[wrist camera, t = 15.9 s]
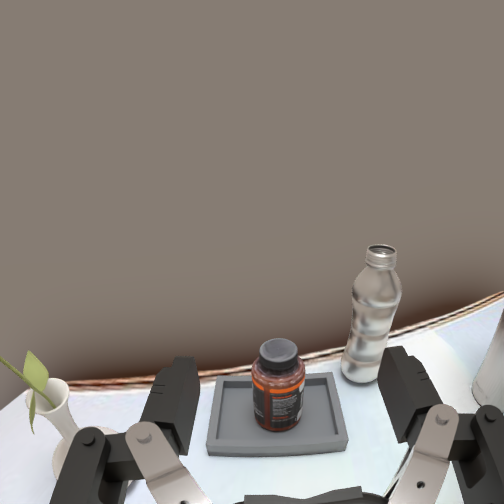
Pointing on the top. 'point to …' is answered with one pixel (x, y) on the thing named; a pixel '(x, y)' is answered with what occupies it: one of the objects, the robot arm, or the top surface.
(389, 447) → the top surface
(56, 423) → the flower in vase
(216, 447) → the gray tray
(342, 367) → the plastic bottle
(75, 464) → the robot arm
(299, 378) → the supplement bottle
